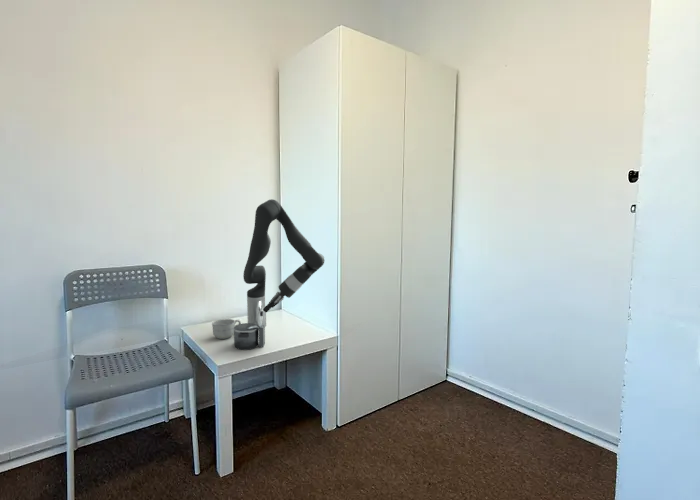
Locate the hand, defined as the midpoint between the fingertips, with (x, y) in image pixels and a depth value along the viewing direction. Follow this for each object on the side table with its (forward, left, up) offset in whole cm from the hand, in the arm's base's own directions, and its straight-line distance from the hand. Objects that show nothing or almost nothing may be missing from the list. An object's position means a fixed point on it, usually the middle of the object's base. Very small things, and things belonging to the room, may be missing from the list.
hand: (264, 310), depth 187 cm
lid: (+1, -3, -1) cm, 3 cm away
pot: (+4, -6, -17) cm, 18 cm away
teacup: (-1, -24, -17) cm, 29 cm away
